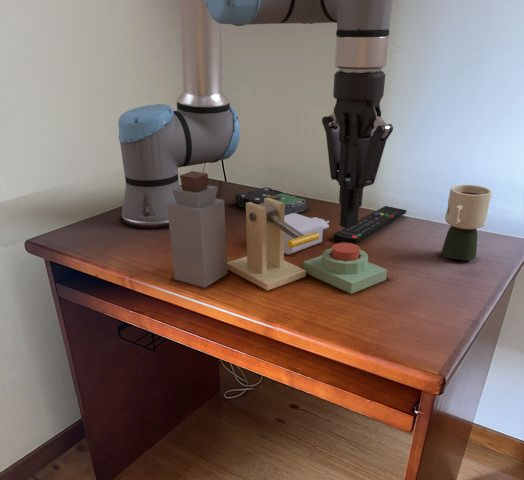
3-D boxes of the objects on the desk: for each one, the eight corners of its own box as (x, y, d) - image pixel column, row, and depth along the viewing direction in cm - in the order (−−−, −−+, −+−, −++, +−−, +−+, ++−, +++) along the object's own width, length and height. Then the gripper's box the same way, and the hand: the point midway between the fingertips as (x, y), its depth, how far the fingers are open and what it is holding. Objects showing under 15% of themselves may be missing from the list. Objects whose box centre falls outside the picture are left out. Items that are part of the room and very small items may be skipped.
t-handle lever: (318, 243, 90) (320, 230, 89) (290, 252, 87) (293, 239, 85) (272, 212, 97) (274, 200, 95) (245, 219, 94) (247, 207, 92)
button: (325, 256, 97) (326, 246, 96) (344, 249, 99) (345, 240, 98) (345, 264, 93) (346, 254, 92) (364, 257, 96) (365, 248, 95)
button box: (302, 271, 100) (303, 251, 98) (337, 259, 104) (338, 239, 102) (350, 294, 92) (352, 272, 90) (386, 279, 97) (388, 258, 94)
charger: (341, 237, 115) (291, 256, 106) (309, 226, 120) (259, 243, 112) (343, 215, 112) (292, 232, 104) (310, 205, 118) (259, 221, 109)
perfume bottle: (204, 287, 94) (197, 182, 85) (174, 279, 97) (164, 176, 88) (227, 274, 99) (223, 172, 90) (197, 266, 102) (190, 167, 93)
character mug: (451, 245, 110) (463, 180, 104) (486, 253, 107) (501, 186, 100) (428, 261, 103) (439, 193, 96) (464, 271, 99) (479, 200, 93)
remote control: (405, 215, 126) (406, 210, 126) (355, 246, 110) (355, 240, 109) (384, 211, 129) (385, 205, 128) (332, 241, 113) (332, 234, 112)
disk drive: (234, 206, 134) (275, 219, 124) (234, 194, 132) (275, 207, 123) (266, 197, 140) (307, 210, 130) (266, 186, 138) (307, 198, 129)
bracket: (306, 276, 98) (308, 206, 91) (267, 290, 93) (266, 217, 86) (264, 256, 106) (263, 190, 99) (226, 268, 101) (223, 200, 94)
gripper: (411, 70, 78) (393, 230, 91) (345, 66, 87) (336, 211, 99) (376, 74, 74) (362, 240, 87) (311, 68, 83) (306, 220, 95)
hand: (348, 225), depth 93 cm, fingers closed
